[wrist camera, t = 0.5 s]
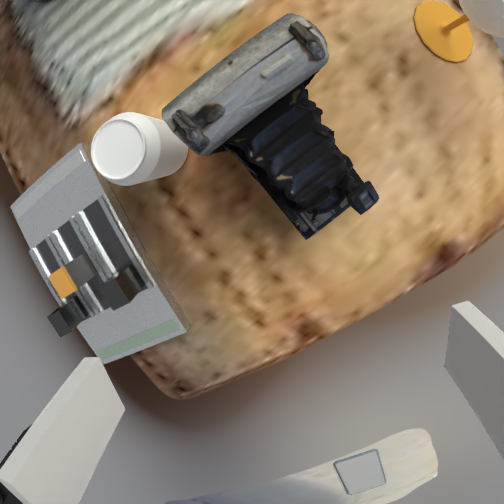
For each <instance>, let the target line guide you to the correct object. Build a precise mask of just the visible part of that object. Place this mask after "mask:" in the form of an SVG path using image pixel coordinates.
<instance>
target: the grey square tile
mask: <svg viewBox="0 0 504 504" xmlns="http://www.w3.org/2000/svg"><path fill="white" fill-rule="evenodd" d="M334 466H335V468H336V470H337V472H338V474H339V476H340V478H341V480H342V482H343V484H344V486H345V488H346V490H347V492H348V494H350V495H352V494H356V493H359V492H362V491H366V490H369V489H372V488H375V487H378V486H381V485H383V484H385V483H386V479H385V475H384V471H383V468H382V464H381V461H380V457H379V453H378V450H377V449H372V450H370V451H367V452H365V453H362V454H358V455H356V456H353V457H349V458H347V459H342V460H339V461H336V462H335V463H334Z"/></svg>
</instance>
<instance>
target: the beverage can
mask: <svg viewBox="0 0 504 504" xmlns="http://www.w3.org/2000/svg"><path fill="white" fill-rule="evenodd" d="M187 154H188V146H187V145H186V144H185V143H183V142H182V141H181V140H180V139H179V138H178V137H177V136H176V135H175V134H174V133H173V132H172V131H171V129H170V128H169V126H168V125H167V123H166V122H165V121H164V120H160V119H157V118H153V117H150V116H146V115H142V114H139V113H134V112H126V113H121V114H118V115H116V116H114V117H113V118H111V119H110V120H109V121H107V122H106V123H104V124H103V125H102V126H101V127H100V128H99V129H98V130H97V132H96V134H95V135H94V138H93V140H92V144H91V158H92V162H93V164H94V166H95V168H96V170H97V171H98V172H99V173H100V174H101V175H102V176H104V177H105V178H106V179H107V180H109V181H110V182H112V183H114V184H117V185H121V186H130V185H135V184H138V183H142V182H146V181H150V180H154V179H158V178H162V177H165V176H168V175H171V174H173V173H175V172H176V171H177V170H179V169H180V168H181V166H182V165H183V164H184V162H185V160H186V158H187Z"/></svg>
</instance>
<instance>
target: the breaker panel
mask: <svg viewBox="0 0 504 504" xmlns="http://www.w3.org/2000/svg"><path fill="white" fill-rule="evenodd" d="M10 207H11V209H12V212H13V214H14V216H15V218H16V220H17V222H18V225H19V227H20V229H21V231H22V233H23V235H24V237H25V239H26V241H27V243H28V245H29V247H30V249H31V250H30V251H29V253H30V255H31V257H32V259H33V261H34V263H35V265H36V266H37V268H38V270H39V272H40V274H41V275H42V277H43V279H44V281H45V282H46V284H47V286H48V287H49V289H50V291H51V293H52V294H53V296H54V297H55V299H56V301H57V302H58V304H59V306H60V307H59V308H57V309H56V310H55V311H54V312H53V313H51V314H50V315H49V316H48V319H49V321H50V322H51V324H52V325H53V327H54V328H55V330H56V331H57V333H58V334H59V336H60V337H62V336H63V335H66V334H68V333H69V332H71V331H73V330H74V328H76V327H77V328H78V329H79V331H80V333H81V334H82V335H83V337H84V338H85V340H86V341H87V342H88V344H89V345H90V347H91V348H92V350H93V351H94V352H95V354H96V355H97V356H98V357H100V359H101V362H102V363H103V364H106V363H109V362H111V361H114V360H117V359H119V358H122V357H125V356H127V355H130V354H133V353H135V352H138V351H140V350H143V349H146V348H148V347H151V346H153V345H156V344H158V343H161V342H163V341H166V340H168V339H171V338H173V337H176V336H178V335H181V334H183V333H186V332H187V331H188V329H189V326H190V322H189V321H188V319H187V318H186V316H185V315H184V313H183V312H182V310H181V308H180V307H179V305H178V304H177V302H176V300H175V299H174V297H173V296H172V294H171V292H170V291H169V289H168V288H167V286H166V284H165V283H164V281H163V279H162V278H161V276H160V274H159V273H158V271H157V269H156V268H155V266H154V264H153V263H152V261H151V259H150V257H149V256H148V254H147V252H146V251H145V249H144V247H143V245H142V244H141V242H140V240H139V238H138V237H137V235H136V233H135V231H134V229H133V228H132V226H131V224H130V222H129V220H128V219H127V217H126V215H125V213H124V211H123V209H122V207H121V206H120V204H119V202H118V200H117V198H116V196H115V194H114V192H113V190H112V188H111V186H110V184H109V183H108V181H107V179H106V178H105V177H104V176H102V175H101V174H100V173H99V172H98V171H97V170H96V168H95V166H94V164H93V162H92V158H91V146H90V144H89V143H80V144H78V145H77V146H76V147H75V148H73V149H72V150H71V151H70V152H69V153H67V154H66V155H65V156H64V157H63V158H62V159H60V160H59V161H58V162H57V163H56V164H55V165H53V166H52V167H51V168H50V169H49V170H48V171H47V172H46V173H44V174H43V175H42V176H41V177H40V178H39V179H38V180H37V181H36V182H35V183H34V184H33V185H31V186H30V187H29V188H28V189H27V190H26V191H25V192H24V193H23V194H22V195H21V196H20V197H19V198H18V199H17V200H16V201H15V202H14V203H13V204H12V205H11V206H10ZM85 252H86V253H87V255H88V257H89V259H90V260H91V262H92V264H93V266H94V267H95V269H96V271H97V272H98V274H96V275H95V276H94V277H93V278H91V279H90V280H89V281H87V282H86V283H85V284H84V285H82V286H81V287H80V288H79V289H77V290H76V291H75V292H73V293H71V294H70V295H68V296H67V297H65V298H63V299H61V297H60V296H59V294H58V292H57V291H56V289H55V287H54V286H53V284H52V282H51V280H50V279H49V277H48V276H50V275H51V274H52V273H54V272H55V271H57V270H58V269H60V268H61V267H63V266H64V265H66V264H67V263H69V262H70V261H72V260H74V259H75V258H77V257H79V256H80V255H82V254H83V253H85Z"/></svg>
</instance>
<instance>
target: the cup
mask: <svg viewBox="0 0 504 504" xmlns="http://www.w3.org/2000/svg"><path fill="white" fill-rule="evenodd" d="M459 2H460V6H461V8H462V9H463V11H464V13H465V14H464V15H463V16H460V15H459V14H458V13H457V12H456V11H455V10H454V9H452V8H451V7H449V6H447V5H446V4H444V3H441V2H437V1H433V0H432V1H426V2H422V3H421V4H420V5H419V6H418V7H417V8H416V11H415V15H414V22H415V26H416V31H417V32H418V34H419V36H420V38H421V39H422V41H423V43H424V44H425V45H426V46H427V47H428V48H429V49H430V50H431V51H432V52H433V53H434V54H436V55H437V56H439V57H441V58H442V59H444V60H446V61H451V62H456V63H457V62H460V61H464V60H466V59H467V58H468V57H469V55H470V54H471V53H472V47H473V40H472V35H471V31H470V29H469V28H468V26H467V24H466V22H467V21H469V20H470V21H471V22H472V23H473V24H474V25H475V26H476V27H478V28H479V29H481V30H482V31H483V32H485V33H488V34H491V35H495V36H498V37H501V38H504V0H459Z"/></svg>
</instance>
